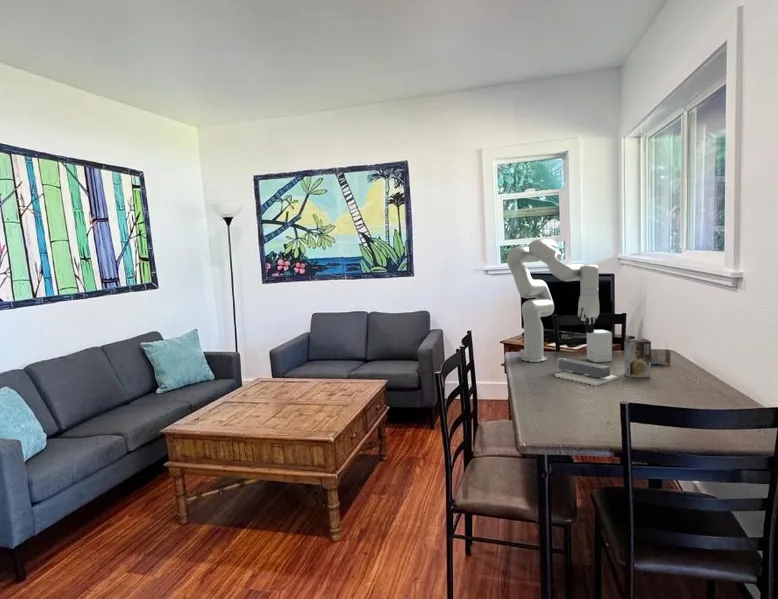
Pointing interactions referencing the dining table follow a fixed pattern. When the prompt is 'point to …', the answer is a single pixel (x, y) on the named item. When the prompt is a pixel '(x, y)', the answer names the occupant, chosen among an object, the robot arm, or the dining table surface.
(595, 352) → the supplement box
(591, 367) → the swing bar
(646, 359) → the coffee box
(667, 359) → the blue grey rectangular box
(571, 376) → the label board
